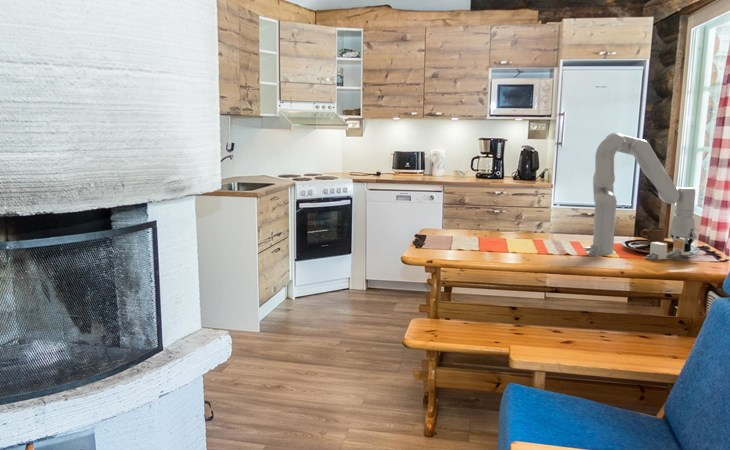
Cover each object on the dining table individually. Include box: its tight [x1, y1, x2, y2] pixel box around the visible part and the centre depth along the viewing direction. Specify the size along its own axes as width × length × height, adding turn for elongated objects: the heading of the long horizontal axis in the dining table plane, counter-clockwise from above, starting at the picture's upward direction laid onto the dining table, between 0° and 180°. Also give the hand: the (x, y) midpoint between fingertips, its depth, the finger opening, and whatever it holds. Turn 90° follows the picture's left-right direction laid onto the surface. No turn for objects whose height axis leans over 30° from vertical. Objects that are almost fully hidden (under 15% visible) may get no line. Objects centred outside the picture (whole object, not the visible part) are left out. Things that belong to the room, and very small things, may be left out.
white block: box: [649, 242, 668, 260], centre depth 271 cm, size 5×6×7 cm
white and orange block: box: [672, 237, 690, 255], centre depth 275 cm, size 5×6×7 cm
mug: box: [640, 227, 666, 246], centre depth 302 cm, size 12×8×9 cm, turn 83°
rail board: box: [642, 250, 696, 261], centre depth 274 cm, size 26×7×3 cm, turn 107°
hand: (681, 249), depth 276 cm, fingers closed on white and orange block, 6 cm apart
